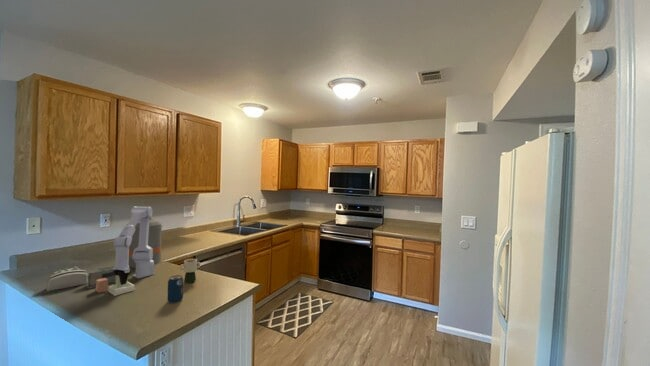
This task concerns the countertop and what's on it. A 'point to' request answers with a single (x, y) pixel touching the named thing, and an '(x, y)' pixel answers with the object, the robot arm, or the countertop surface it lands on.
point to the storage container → (153, 241)
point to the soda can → (175, 289)
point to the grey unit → (101, 276)
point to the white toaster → (68, 270)
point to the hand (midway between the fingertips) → (121, 283)
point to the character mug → (190, 269)
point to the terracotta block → (102, 285)
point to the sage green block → (119, 282)
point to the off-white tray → (121, 289)
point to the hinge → (67, 279)
